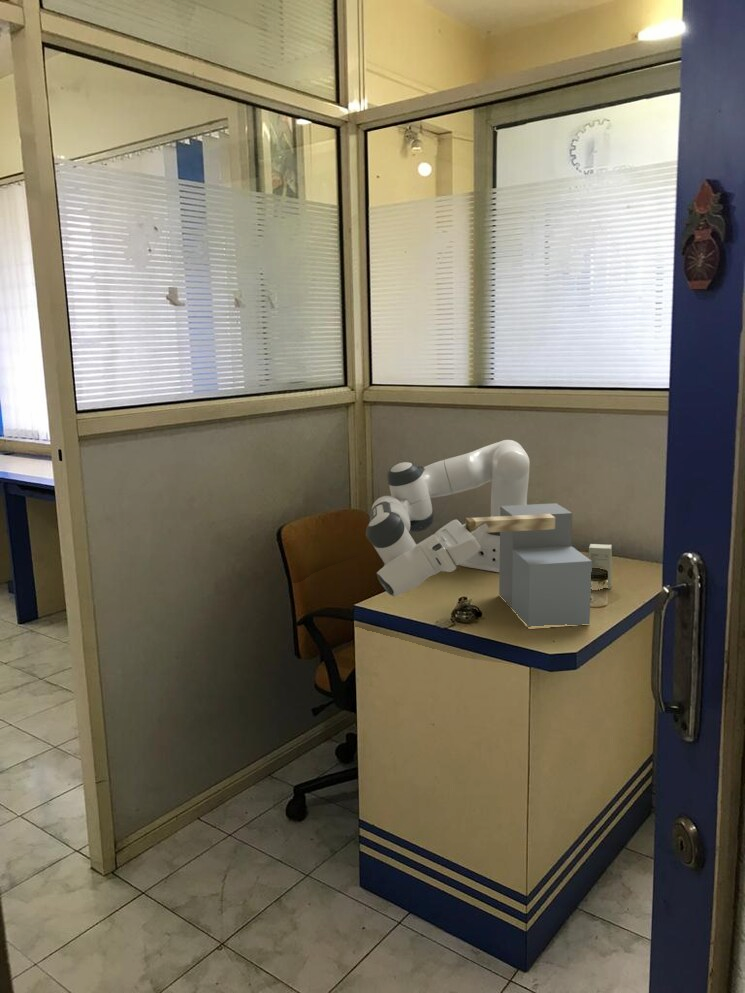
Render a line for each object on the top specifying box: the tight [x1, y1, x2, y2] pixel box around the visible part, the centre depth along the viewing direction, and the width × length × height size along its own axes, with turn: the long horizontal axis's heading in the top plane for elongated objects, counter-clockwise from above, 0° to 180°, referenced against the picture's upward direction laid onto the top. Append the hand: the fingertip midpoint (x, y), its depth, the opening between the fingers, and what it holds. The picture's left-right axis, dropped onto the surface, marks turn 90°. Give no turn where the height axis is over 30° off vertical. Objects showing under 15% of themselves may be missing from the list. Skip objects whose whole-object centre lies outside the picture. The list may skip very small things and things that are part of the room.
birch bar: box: [465, 514, 555, 533], centre depth 207 cm, size 22×4×3 cm, turn 98°
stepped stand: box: [498, 502, 592, 627], centre depth 217 cm, size 16×26×26 cm, turn 8°
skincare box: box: [588, 543, 613, 590], centre depth 236 cm, size 6×4×12 cm
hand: (484, 523), depth 206 cm, fingers closed on birch bar, 4 cm apart
